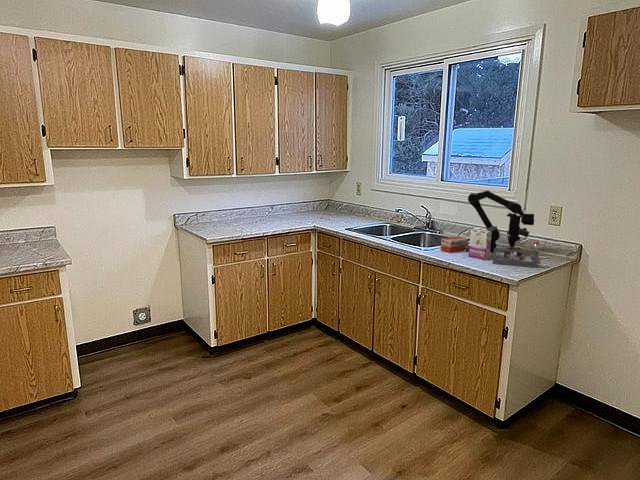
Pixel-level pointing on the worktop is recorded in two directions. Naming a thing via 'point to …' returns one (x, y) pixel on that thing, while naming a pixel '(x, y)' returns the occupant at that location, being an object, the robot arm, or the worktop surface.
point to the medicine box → (453, 244)
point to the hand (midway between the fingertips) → (511, 249)
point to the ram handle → (535, 247)
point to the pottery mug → (513, 252)
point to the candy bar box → (480, 244)
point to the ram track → (534, 259)
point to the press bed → (515, 262)
